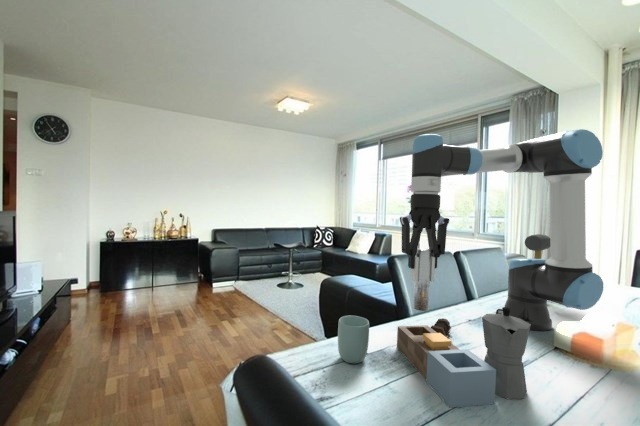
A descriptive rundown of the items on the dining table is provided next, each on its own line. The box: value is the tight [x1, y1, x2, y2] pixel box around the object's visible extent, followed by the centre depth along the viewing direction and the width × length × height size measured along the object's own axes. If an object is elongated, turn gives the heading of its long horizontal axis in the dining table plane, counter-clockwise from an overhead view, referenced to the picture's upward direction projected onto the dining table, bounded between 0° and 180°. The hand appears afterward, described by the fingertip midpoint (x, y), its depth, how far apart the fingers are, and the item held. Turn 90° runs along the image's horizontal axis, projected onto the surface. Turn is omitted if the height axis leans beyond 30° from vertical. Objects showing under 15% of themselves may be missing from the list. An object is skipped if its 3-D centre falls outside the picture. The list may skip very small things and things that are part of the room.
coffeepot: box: [481, 306, 531, 401], centre depth 69 cm, size 15×9×18 cm, turn 159°
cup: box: [337, 315, 370, 364], centre depth 79 cm, size 8×8×10 cm
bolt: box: [430, 318, 452, 338], centre depth 96 cm, size 6×5×15 cm
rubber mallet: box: [524, 233, 551, 259], centre depth 141 cm, size 12×8×30 cm, turn 125°
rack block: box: [425, 348, 496, 408], centre depth 66 cm, size 10×9×7 cm
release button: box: [423, 333, 453, 350], centre depth 75 cm, size 5×5×7 cm
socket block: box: [396, 324, 461, 380], centre depth 79 cm, size 9×16×6 cm, turn 10°
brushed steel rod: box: [412, 247, 431, 312], centre depth 83 cm, size 4×4×16 cm
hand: (422, 280), depth 83 cm, fingers closed on brushed steel rod, 4 cm apart
